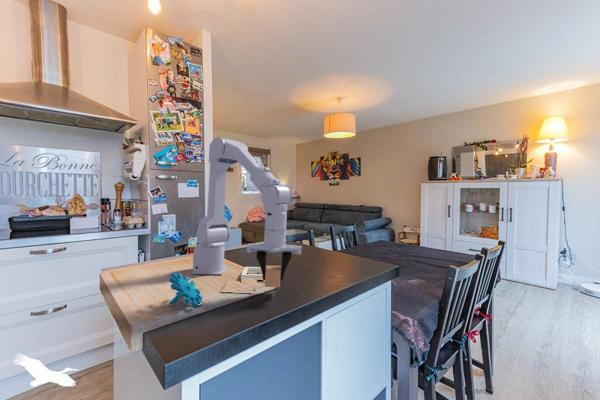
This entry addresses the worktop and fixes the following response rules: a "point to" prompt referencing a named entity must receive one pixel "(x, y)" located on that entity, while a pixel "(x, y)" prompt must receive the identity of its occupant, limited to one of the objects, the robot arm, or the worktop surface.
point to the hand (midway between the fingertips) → (273, 278)
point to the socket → (252, 269)
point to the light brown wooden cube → (272, 276)
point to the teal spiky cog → (185, 290)
